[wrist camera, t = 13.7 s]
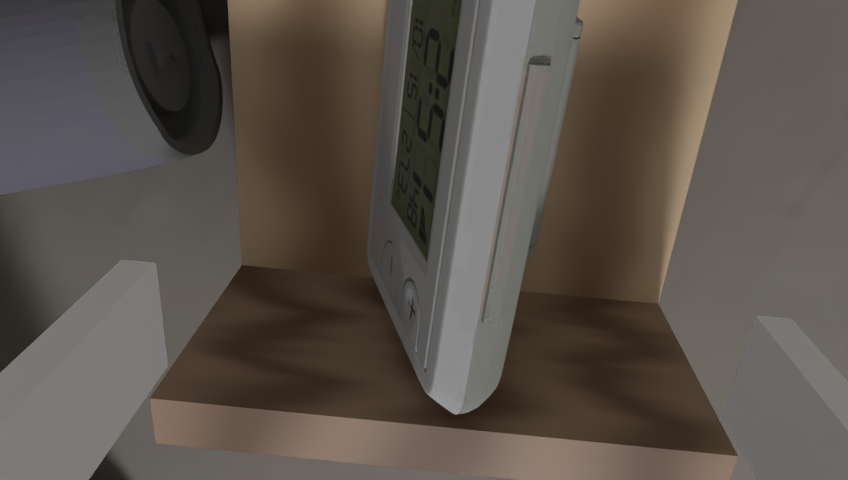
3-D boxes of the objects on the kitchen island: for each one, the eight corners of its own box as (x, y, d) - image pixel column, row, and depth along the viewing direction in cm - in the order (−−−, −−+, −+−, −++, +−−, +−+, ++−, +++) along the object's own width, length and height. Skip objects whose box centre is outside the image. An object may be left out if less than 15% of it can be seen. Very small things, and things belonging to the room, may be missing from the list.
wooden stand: (266, 264, 36) (155, 443, 23) (250, -186, 27) (54, -299, 14) (630, 298, 35) (721, 499, 22) (737, -150, 26) (989, -232, 14)
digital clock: (415, -139, 24) (380, -193, 14) (643, -54, 24) (758, -50, 15) (310, 240, 30) (237, 379, 21) (490, 298, 31) (500, 458, 21)
